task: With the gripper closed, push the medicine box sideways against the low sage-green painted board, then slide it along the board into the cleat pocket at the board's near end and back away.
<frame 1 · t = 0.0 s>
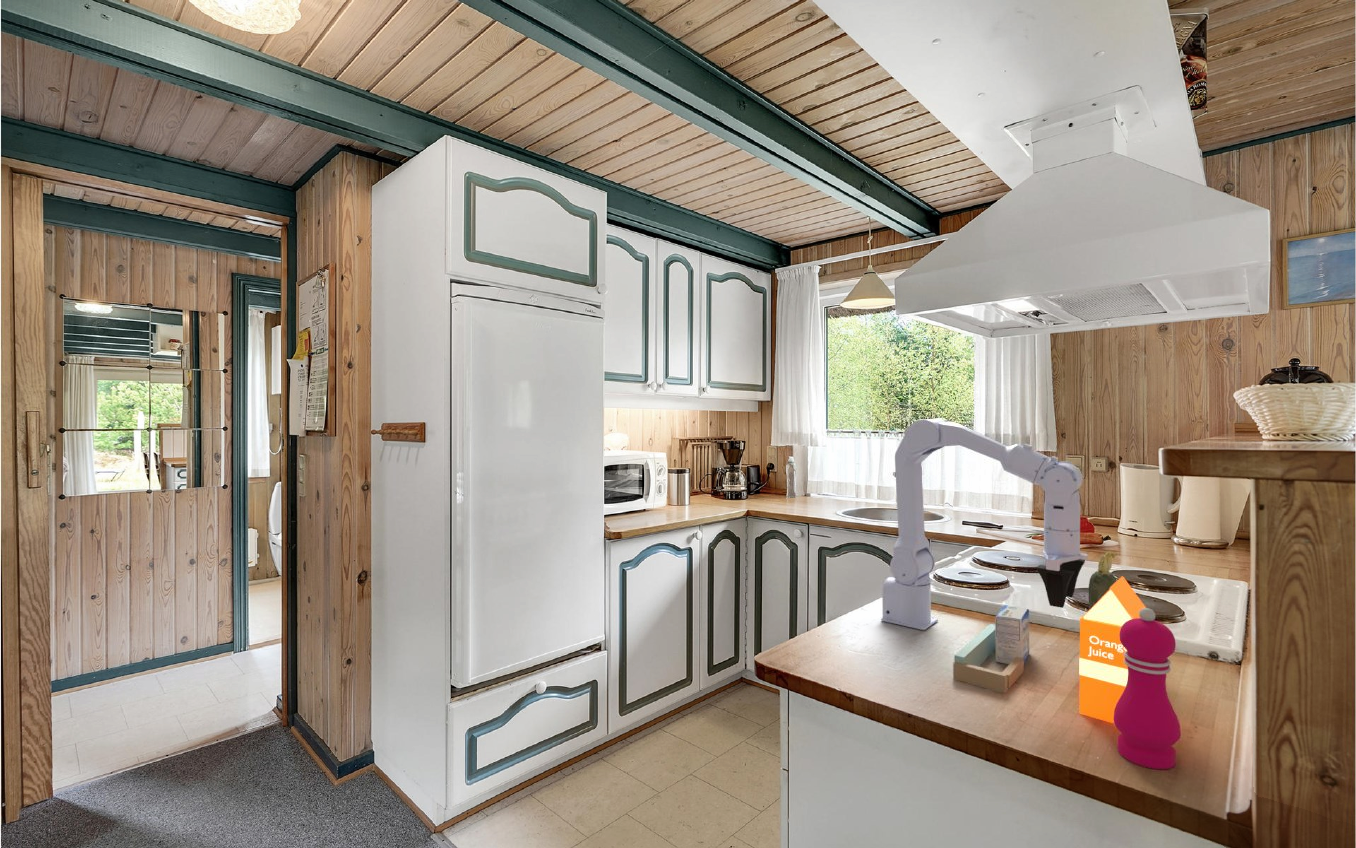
hand: (1061, 601, 118), 10 cm above the countertop, fingers open, 7 cm apart
medicine box: (1012, 659, 118), on the countertop
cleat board: (995, 664, 115), on the countertop
orange juice: (1115, 713, 97), on the countertop
vegetable: (1102, 659, 117), on the countertop
pepper mill: (1145, 758, 85), on the countertop
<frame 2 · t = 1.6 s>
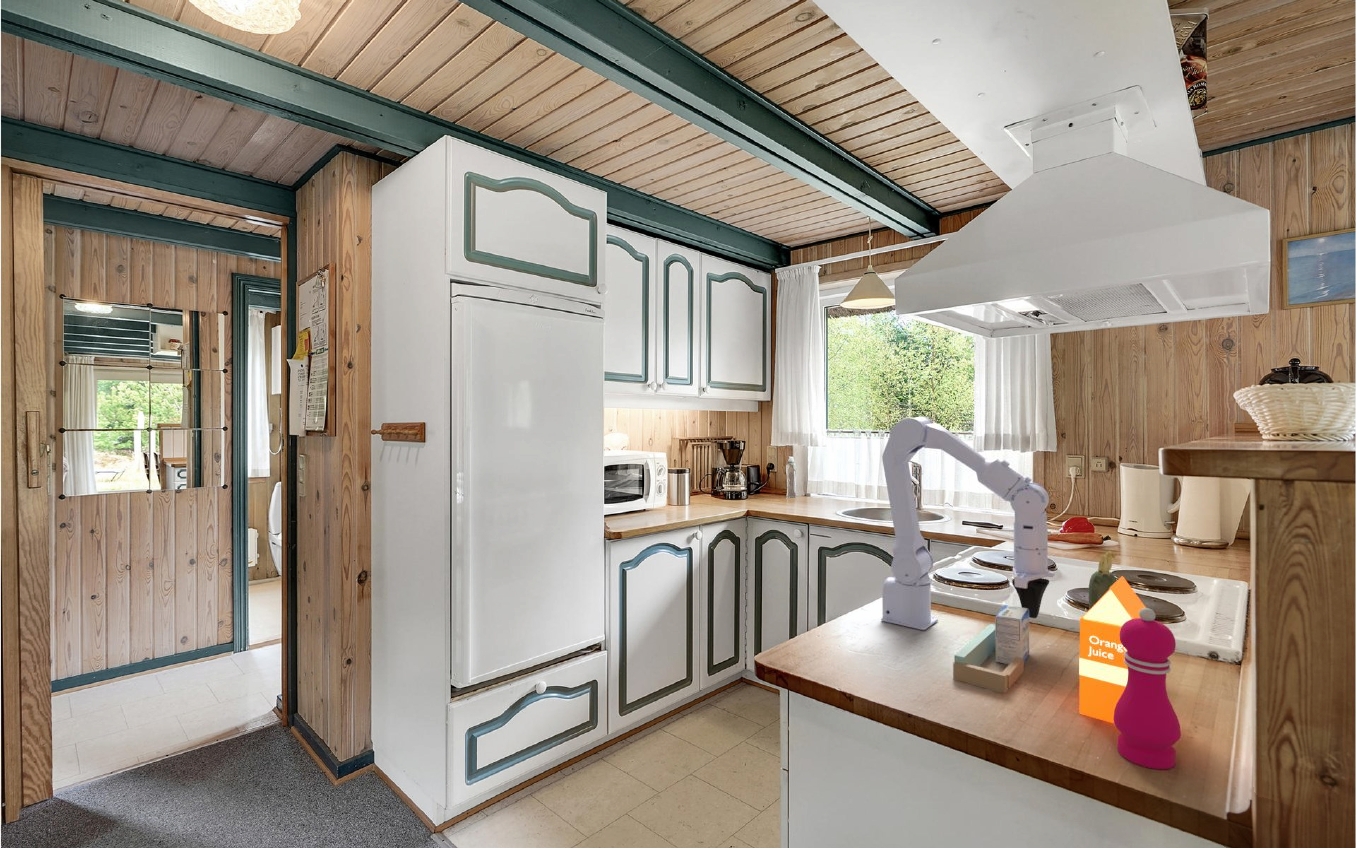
hand: (1030, 616, 124), 5 cm above the countertop, fingers closed
nothing on the countertop moved.
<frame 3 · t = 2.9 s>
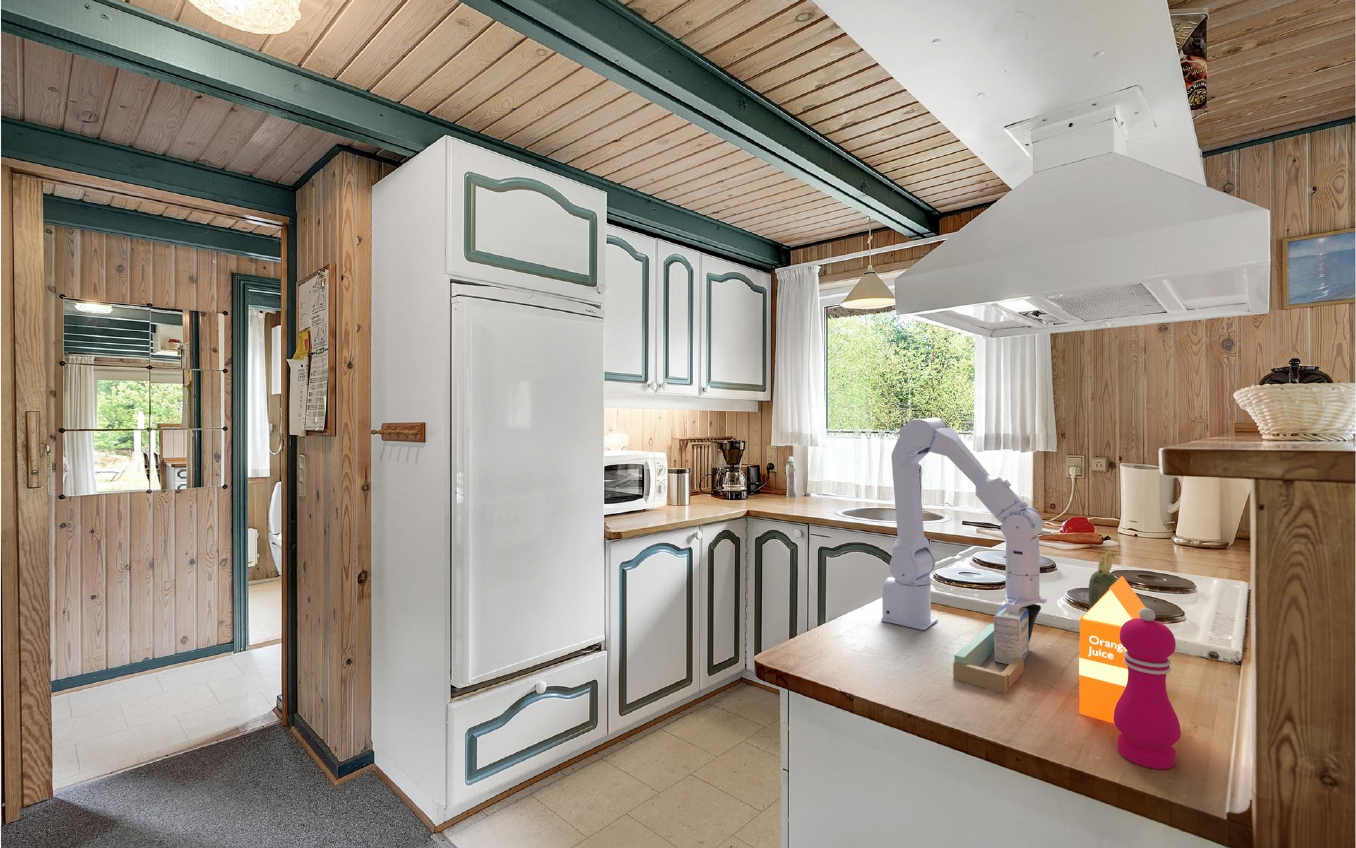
hand: (1022, 642, 122), 1 cm above the countertop, fingers closed
medicine box: (1011, 659, 118), on the countertop, touching gripper
everything else where it was.
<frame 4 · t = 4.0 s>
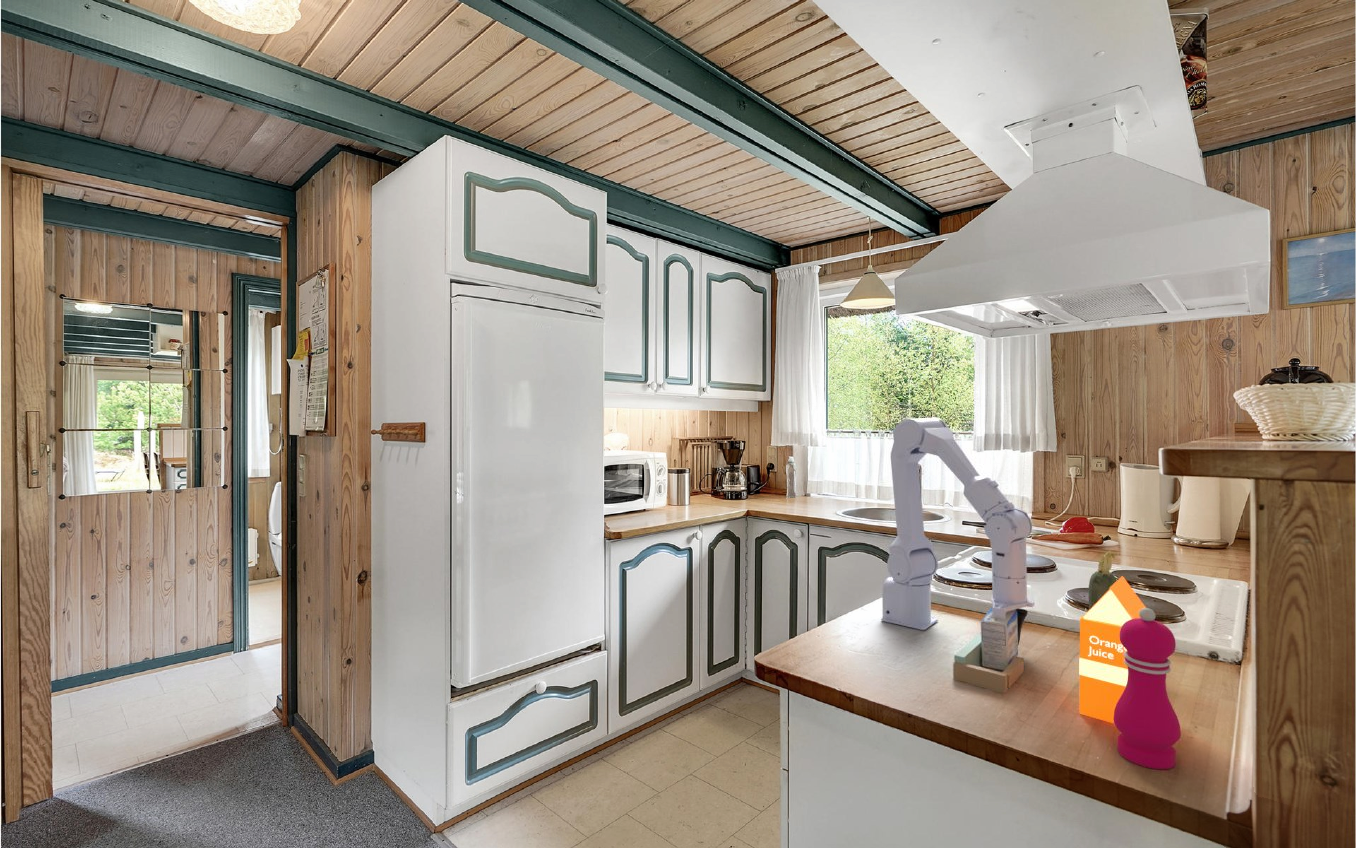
hand: (1010, 647, 119), 1 cm above the countertop, fingers closed, pressing on medicine box
medicine box: (1000, 662, 116), on the countertop, touching gripper
everything else where it was.
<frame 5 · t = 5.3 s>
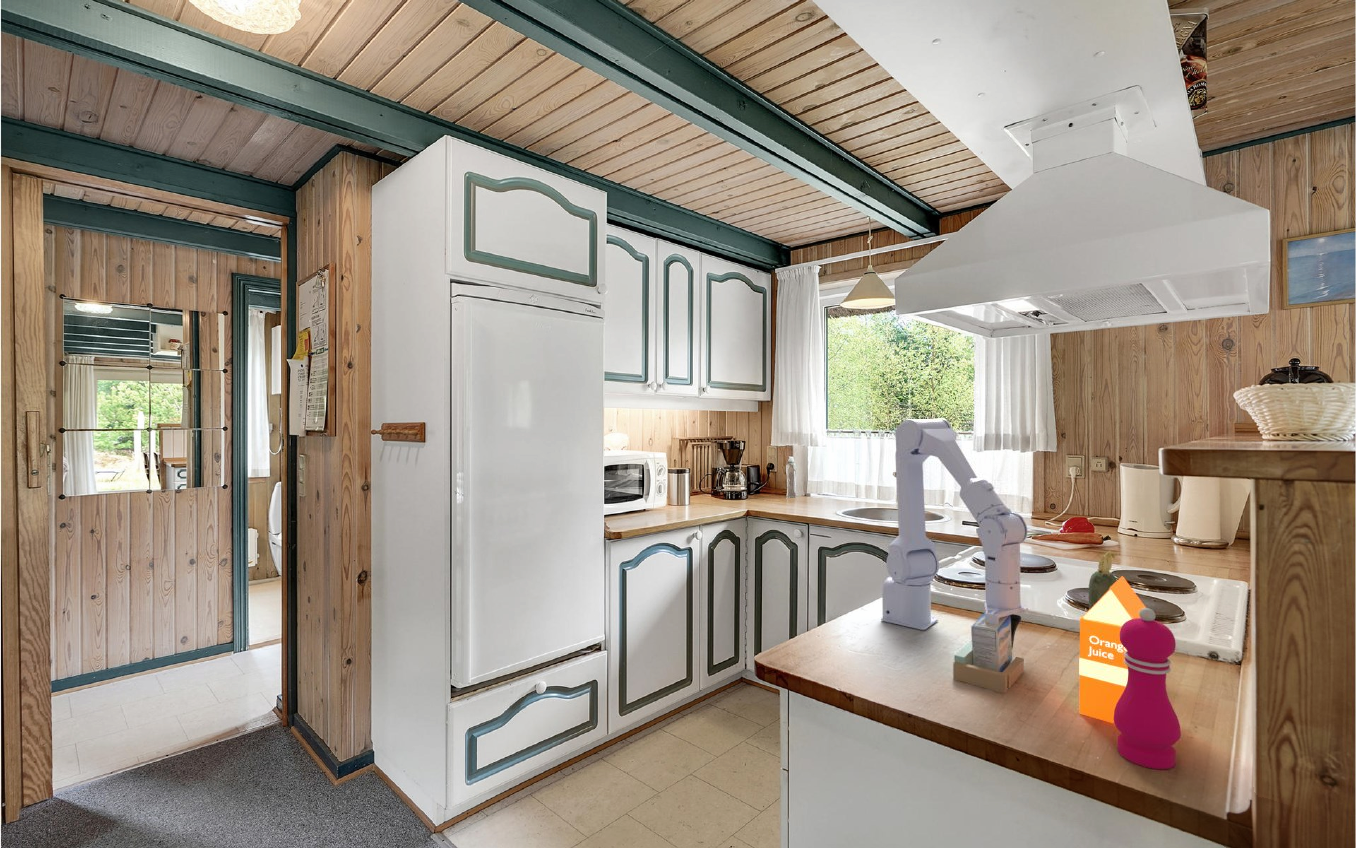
hand: (1003, 654, 117), 1 cm above the countertop, fingers closed, pressing on medicine box
medicine box: (992, 667, 113), on the countertop, touching gripper
everything else where it was.
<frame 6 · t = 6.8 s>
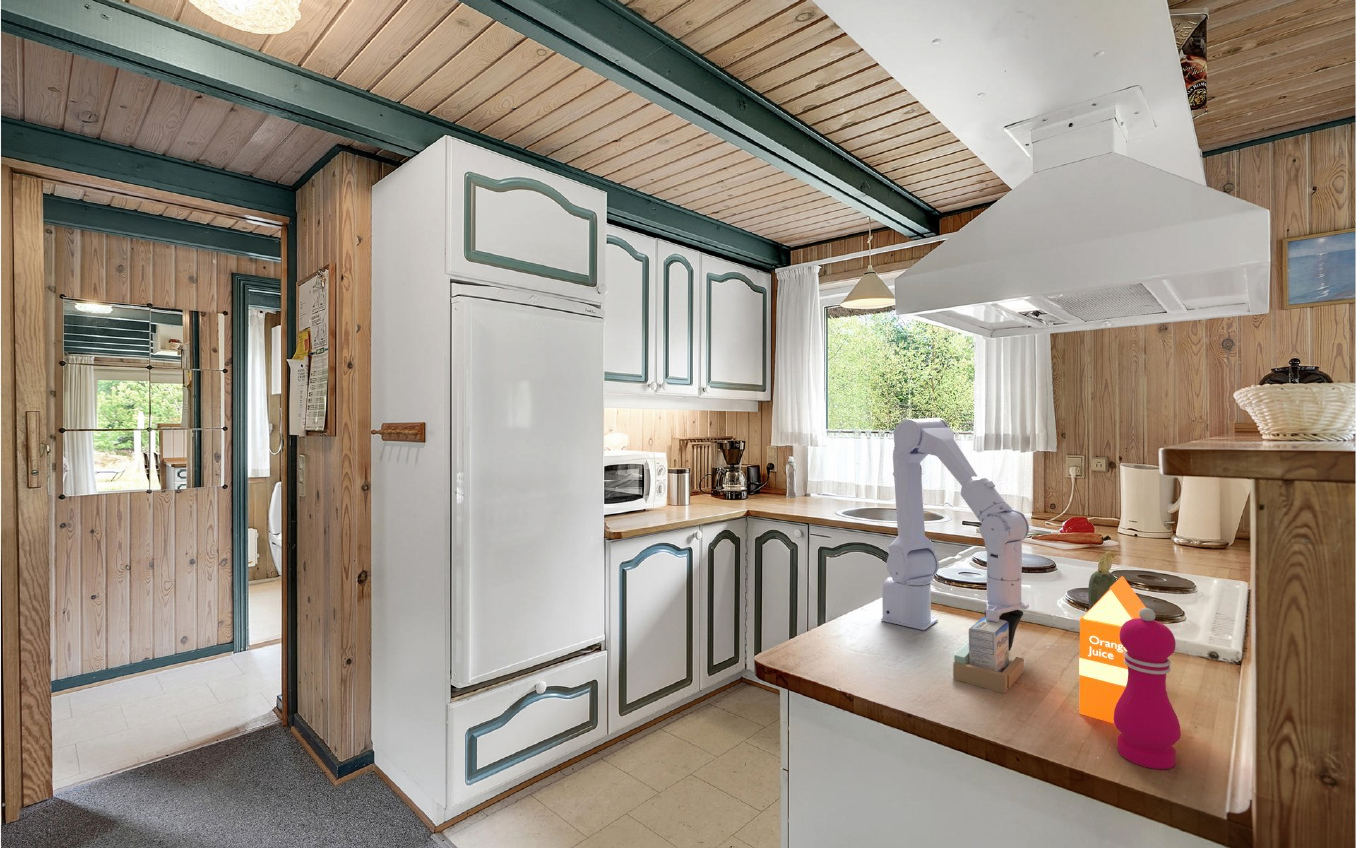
hand: (1003, 649, 118), 1 cm above the countertop, fingers closed
medicine box: (989, 674, 112), on the countertop
everything else where it was.
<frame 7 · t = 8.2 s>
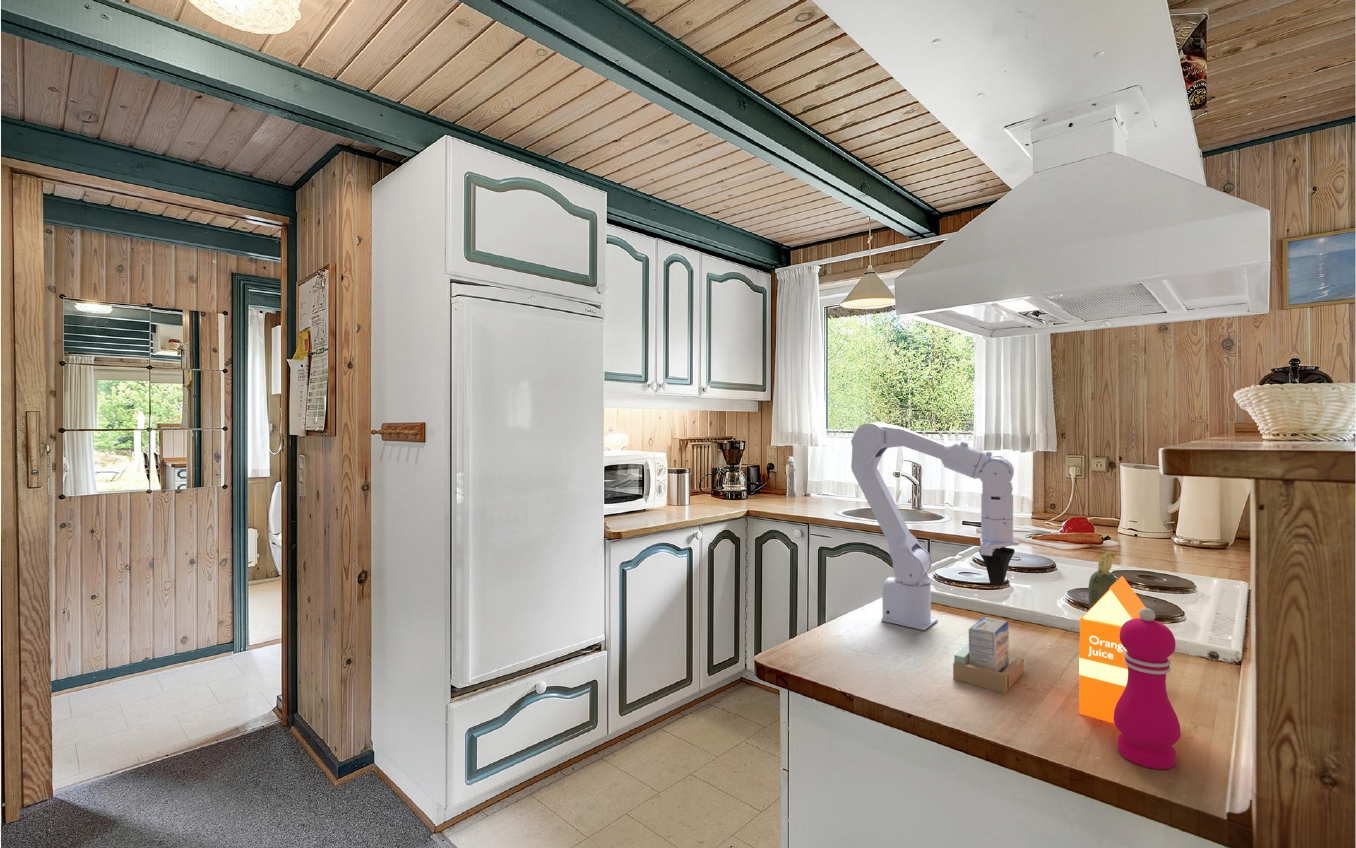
hand: (996, 584, 129), 10 cm above the countertop, fingers closed
nothing on the countertop moved.
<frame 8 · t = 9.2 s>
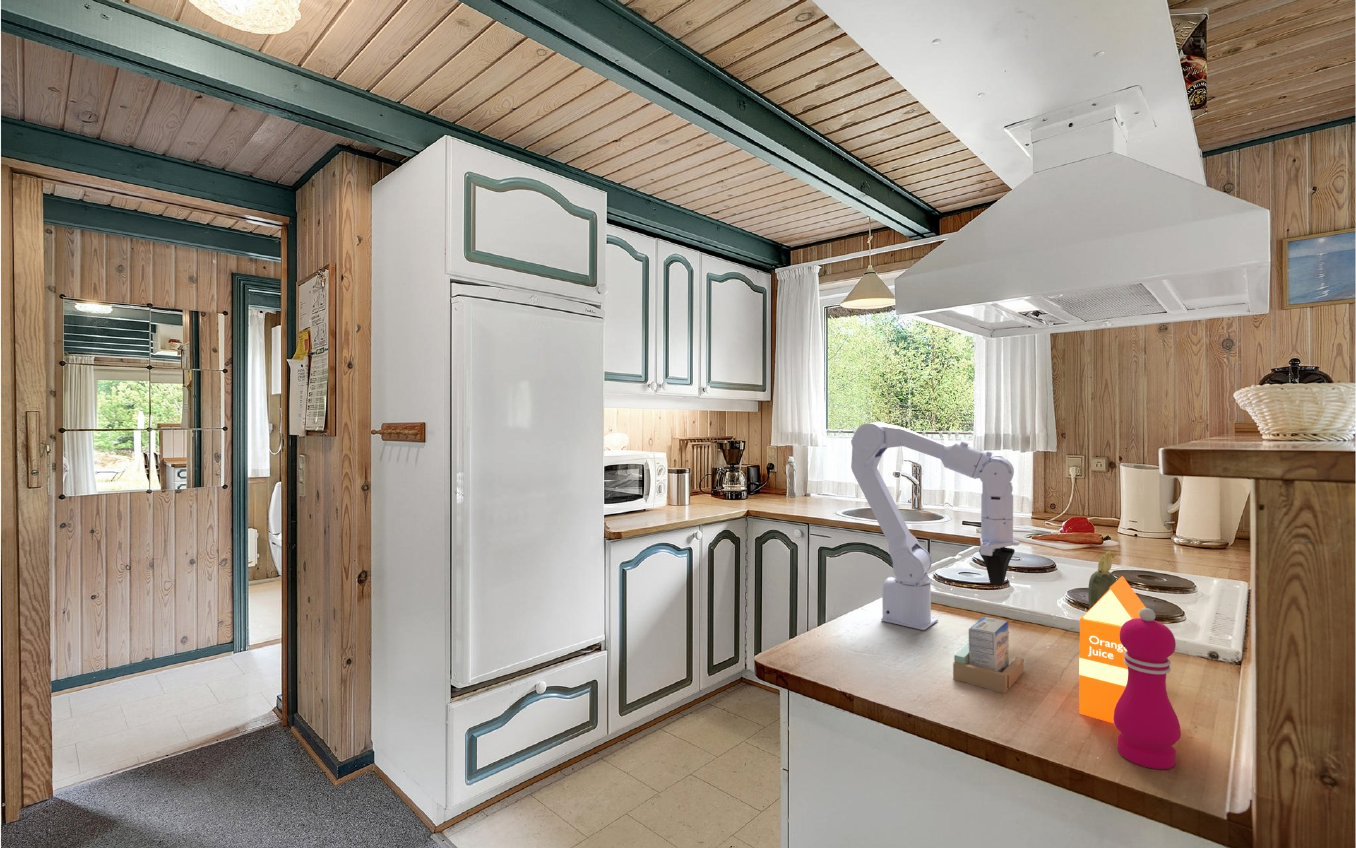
hand: (996, 584, 129), 10 cm above the countertop, fingers closed
nothing on the countertop moved.
at the end: medicine box 0.7 cm from the target spot, on the countertop; medicine box tilted 0°; medicine box moved 9.7 cm from its start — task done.
